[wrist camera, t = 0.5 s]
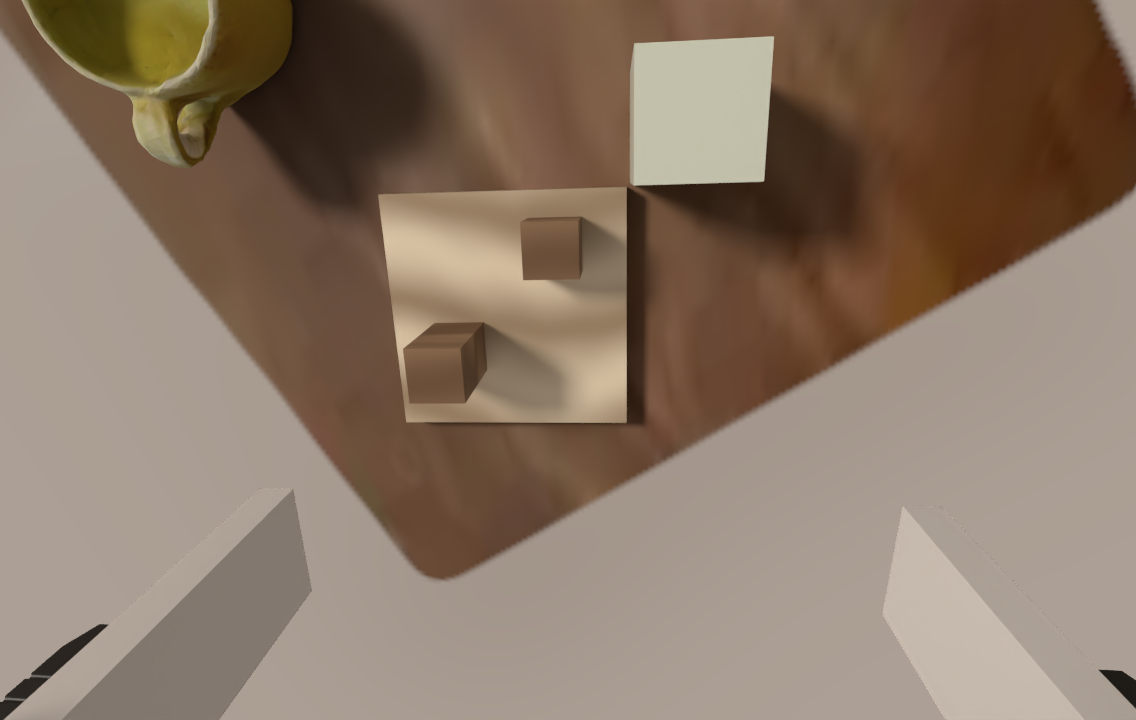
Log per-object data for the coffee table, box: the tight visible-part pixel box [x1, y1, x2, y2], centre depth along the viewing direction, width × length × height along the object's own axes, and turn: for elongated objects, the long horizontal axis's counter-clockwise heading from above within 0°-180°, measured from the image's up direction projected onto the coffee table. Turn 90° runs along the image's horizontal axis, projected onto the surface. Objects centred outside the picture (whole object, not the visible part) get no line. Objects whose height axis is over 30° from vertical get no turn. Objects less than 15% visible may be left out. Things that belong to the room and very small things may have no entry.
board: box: [378, 187, 627, 423], centre depth 34 cm, size 14×14×4 cm
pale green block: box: [630, 36, 774, 186], centre depth 28 cm, size 6×6×8 cm
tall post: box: [403, 322, 487, 404], centre depth 33 cm, size 3×3×6 cm
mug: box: [22, 0, 293, 168], centre depth 29 cm, size 12×10×10 cm
